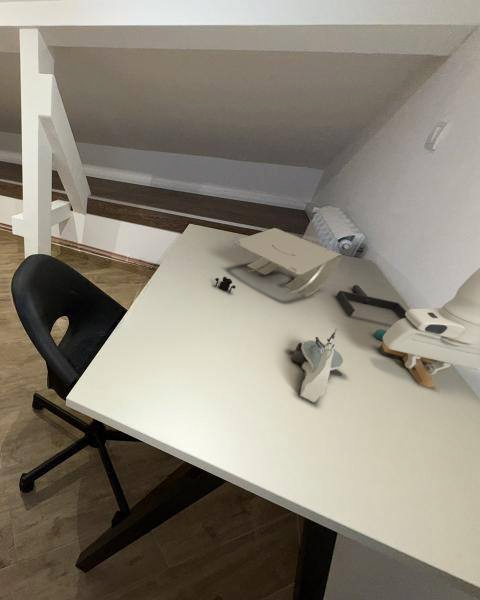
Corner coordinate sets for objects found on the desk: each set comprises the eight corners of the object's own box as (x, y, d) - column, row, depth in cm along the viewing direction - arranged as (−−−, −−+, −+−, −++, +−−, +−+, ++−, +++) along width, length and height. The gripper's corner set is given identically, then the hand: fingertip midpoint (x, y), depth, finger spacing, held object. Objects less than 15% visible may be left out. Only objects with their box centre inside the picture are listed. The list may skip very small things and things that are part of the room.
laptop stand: (323, 294, 109) (348, 254, 101) (282, 307, 100) (305, 264, 91) (261, 262, 128) (277, 226, 119) (220, 270, 118) (235, 232, 110)
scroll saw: (365, 383, 59) (298, 354, 64) (335, 418, 65) (276, 388, 70) (366, 334, 72) (310, 313, 78) (341, 367, 78) (291, 345, 84)
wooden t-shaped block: (424, 360, 82) (433, 353, 80) (447, 397, 74) (457, 390, 72) (376, 348, 85) (383, 341, 83) (392, 383, 76) (401, 375, 74)
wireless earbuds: (211, 287, 107) (216, 274, 104) (215, 284, 109) (220, 272, 106) (231, 296, 103) (236, 283, 100) (234, 293, 105) (240, 280, 102)
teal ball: (382, 337, 90) (389, 329, 88) (387, 344, 88) (394, 335, 86) (369, 334, 91) (376, 326, 89) (374, 341, 88) (381, 332, 87)
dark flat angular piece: (411, 332, 94) (419, 324, 92) (347, 317, 98) (353, 309, 96) (379, 296, 112) (384, 288, 110) (326, 284, 116) (330, 277, 114)
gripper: (508, 330, 69) (461, 373, 77) (400, 307, 74) (366, 350, 82) (531, 348, 64) (478, 392, 72) (414, 322, 69) (376, 366, 77)
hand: (418, 369), depth 77 cm, fingers closed on wooden t-shaped block, 2 cm apart
